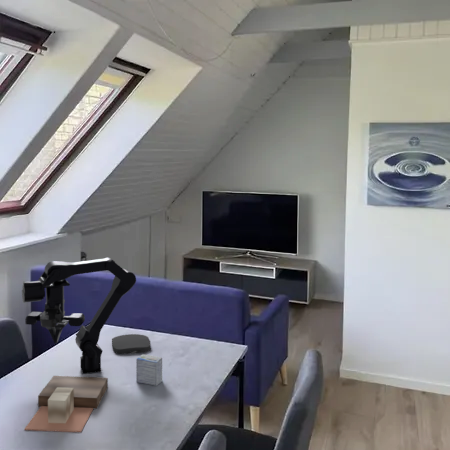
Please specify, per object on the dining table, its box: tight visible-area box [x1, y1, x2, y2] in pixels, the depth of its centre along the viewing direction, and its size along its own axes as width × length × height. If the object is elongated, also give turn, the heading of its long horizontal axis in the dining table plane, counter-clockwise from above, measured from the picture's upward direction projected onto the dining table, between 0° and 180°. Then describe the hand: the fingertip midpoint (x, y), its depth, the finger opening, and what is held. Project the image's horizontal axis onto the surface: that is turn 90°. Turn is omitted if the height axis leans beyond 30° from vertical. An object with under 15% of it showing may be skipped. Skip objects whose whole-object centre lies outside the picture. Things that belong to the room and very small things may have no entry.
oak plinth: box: [37, 375, 109, 410], centre depth 168 cm, size 14×18×4 cm
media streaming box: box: [111, 333, 151, 355], centre depth 210 cm, size 15×15×3 cm
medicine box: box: [135, 353, 163, 387], centre depth 179 cm, size 8×4×9 cm, turn 71°
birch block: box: [48, 387, 74, 423], centre depth 155 cm, size 7×5×8 cm
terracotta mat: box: [24, 406, 94, 433], centre depth 154 cm, size 13×16×1 cm
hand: (55, 342), depth 180 cm, fingers closed
